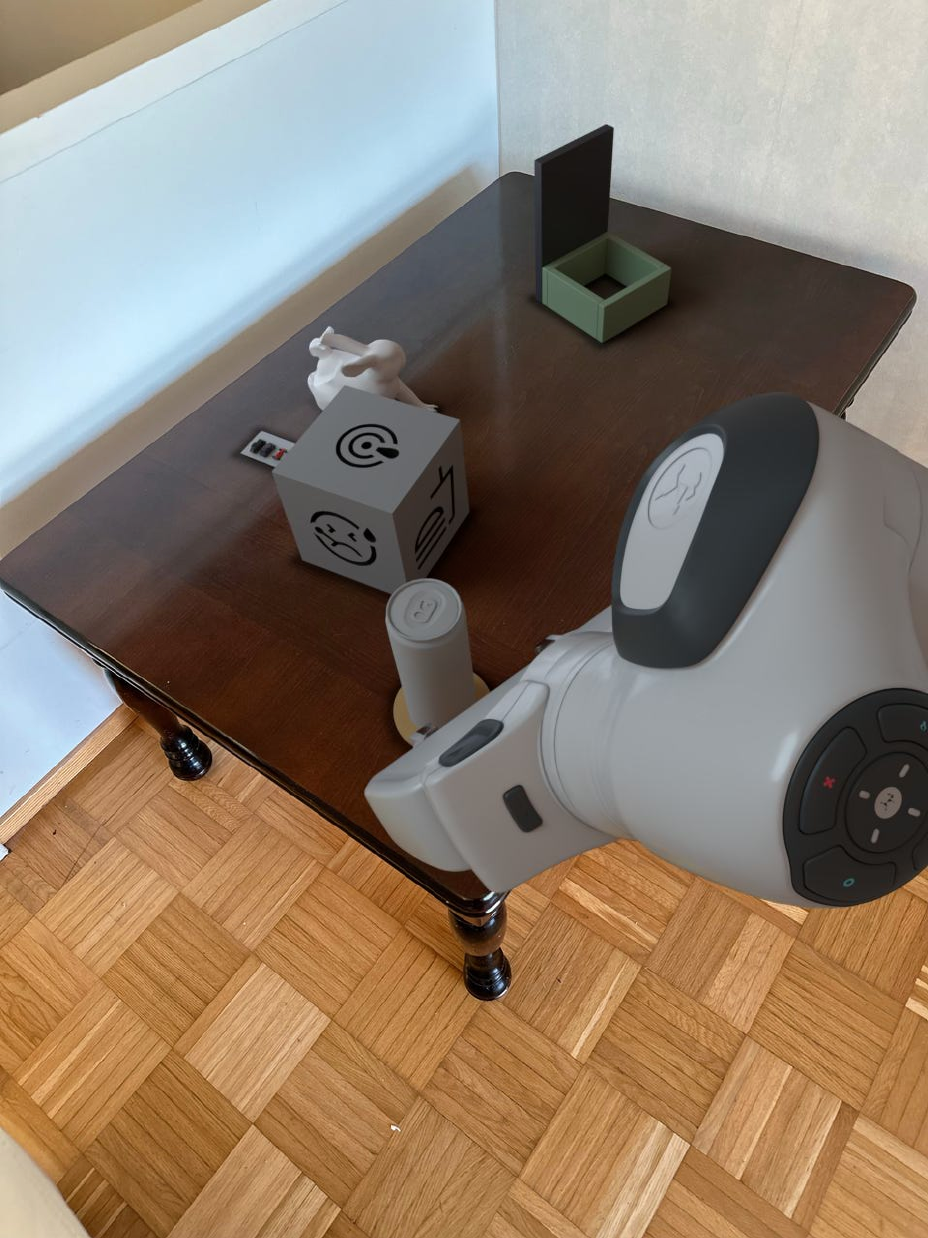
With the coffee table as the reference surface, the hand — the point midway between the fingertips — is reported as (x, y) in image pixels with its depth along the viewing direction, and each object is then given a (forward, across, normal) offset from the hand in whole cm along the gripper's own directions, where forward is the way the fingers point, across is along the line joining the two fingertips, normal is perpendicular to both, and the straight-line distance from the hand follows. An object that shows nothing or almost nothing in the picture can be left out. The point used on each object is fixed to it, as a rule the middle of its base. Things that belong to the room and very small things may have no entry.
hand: (486, 695), depth 54 cm
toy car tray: (+30, -5, -18) cm, 36 cm away
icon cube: (+21, -6, -9) cm, 24 cm away
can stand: (+28, -39, -16) cm, 51 cm away
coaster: (+10, 0, +2) cm, 10 cm away
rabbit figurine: (+30, -12, -18) cm, 37 cm away
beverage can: (+9, 0, +2) cm, 10 cm away
